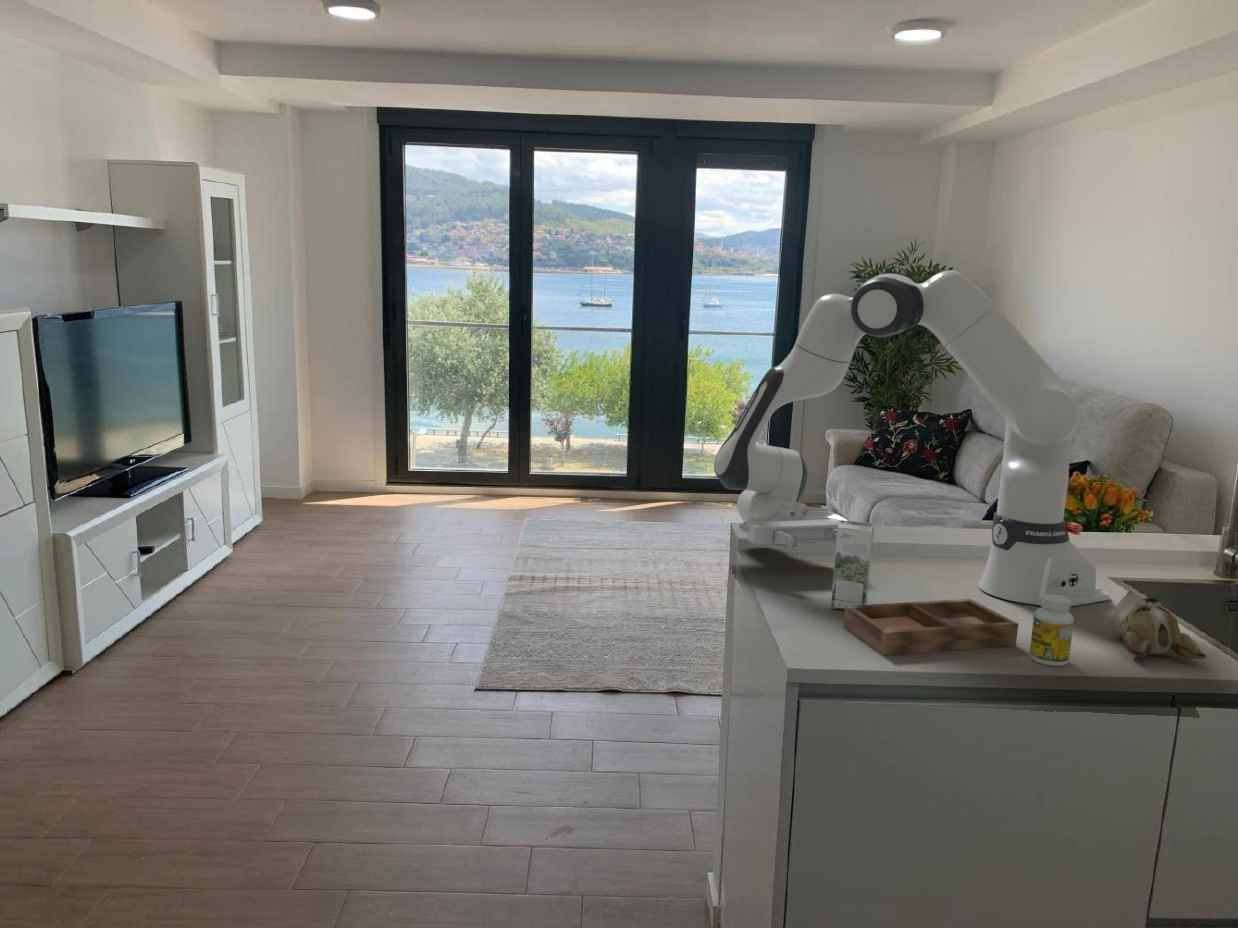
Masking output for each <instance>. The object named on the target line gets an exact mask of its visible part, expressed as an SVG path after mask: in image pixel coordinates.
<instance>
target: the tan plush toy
mask: <svg viewBox="0 0 1238 928" xmlns="http://www.w3.org/2000/svg"><path fill="white" fill-rule="evenodd" d="M1110 625H1111V629H1112V630H1113V633H1114V634H1115V635H1116V636H1117V637H1119V638H1121V639H1123V640H1122V641H1123V644H1124V645H1125V648H1126V650H1127V651H1128V652H1129V653H1130V654H1132V656H1135V657H1146V656H1147V655H1153V654H1154V655H1164V654H1167V653H1169V652H1170V651H1173V652H1174V653H1175V654H1176V655H1178V656H1180V657H1181V658H1185V659H1189V660H1190V659H1192V660H1193V659H1195V660H1196V659H1197V660H1204V659H1206V658H1207V657H1208V656H1207V655H1206V654H1205V653H1202V651H1201V649H1200V648H1199V645H1198V643H1196V641H1195V640H1194V639H1192V638H1191V636H1190V635H1189V634H1187V633H1184V632H1181V630H1180V627H1179V624H1178V620H1177V618H1176V617H1175V616H1174V615H1172V612H1170V611H1169V610H1168V609H1165V608H1164V607H1163V606H1162V604H1161V602H1160V601H1158V599H1156V598H1154V597H1144V598H1141V597H1140V596H1138V595H1136V594H1135V593H1134V592H1132V591H1130V590H1129V591H1128V592H1127V593H1126V594H1125V595H1124V596H1123V597H1122V598H1121V599H1120V601H1119V602H1118V604H1117V605H1116V606H1115V608H1114V610H1113V612H1112V613H1111V614H1110Z"/></svg>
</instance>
